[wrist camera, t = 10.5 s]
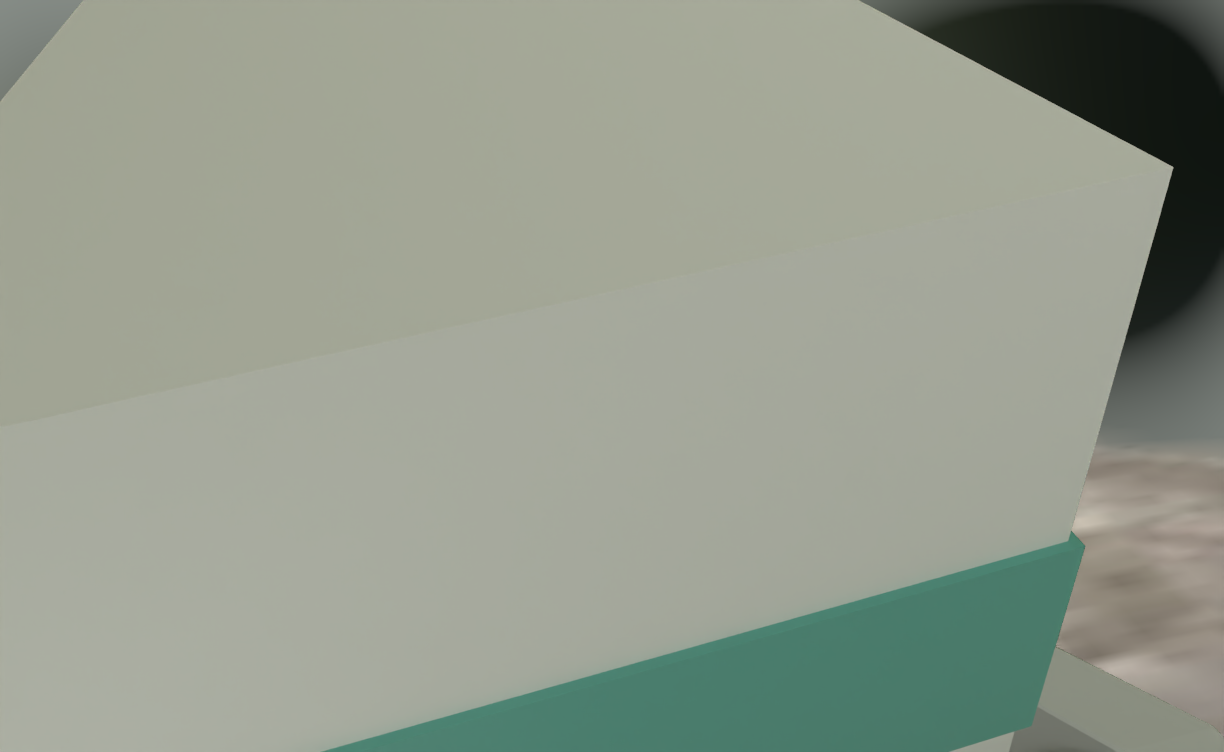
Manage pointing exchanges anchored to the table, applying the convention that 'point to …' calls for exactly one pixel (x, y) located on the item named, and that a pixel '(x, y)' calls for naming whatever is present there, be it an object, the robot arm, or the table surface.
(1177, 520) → the table surface
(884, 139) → the module
